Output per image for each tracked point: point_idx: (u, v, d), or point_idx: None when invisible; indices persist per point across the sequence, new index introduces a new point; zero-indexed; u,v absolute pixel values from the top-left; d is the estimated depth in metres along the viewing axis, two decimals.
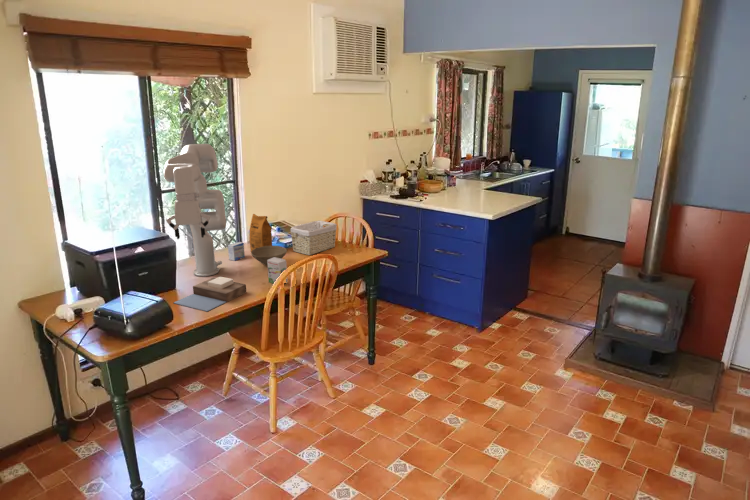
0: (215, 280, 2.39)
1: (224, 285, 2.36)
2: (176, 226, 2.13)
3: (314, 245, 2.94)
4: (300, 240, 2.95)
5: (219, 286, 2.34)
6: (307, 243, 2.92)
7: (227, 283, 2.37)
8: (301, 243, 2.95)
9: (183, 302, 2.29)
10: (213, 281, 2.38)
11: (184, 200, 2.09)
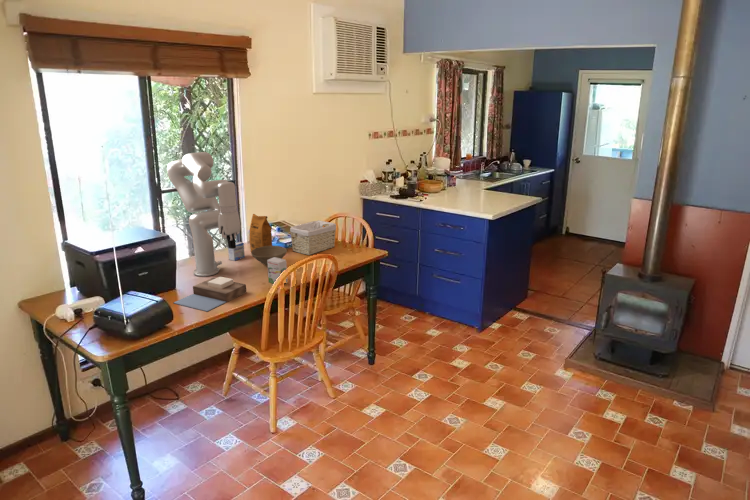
0: (215, 280, 2.39)
1: (224, 285, 2.36)
2: (231, 237, 2.39)
3: (313, 245, 2.95)
4: (299, 240, 2.95)
5: (219, 286, 2.34)
6: (306, 243, 2.92)
7: (227, 283, 2.37)
8: (300, 243, 2.95)
9: (183, 302, 2.29)
10: (213, 281, 2.38)
11: (234, 211, 2.35)
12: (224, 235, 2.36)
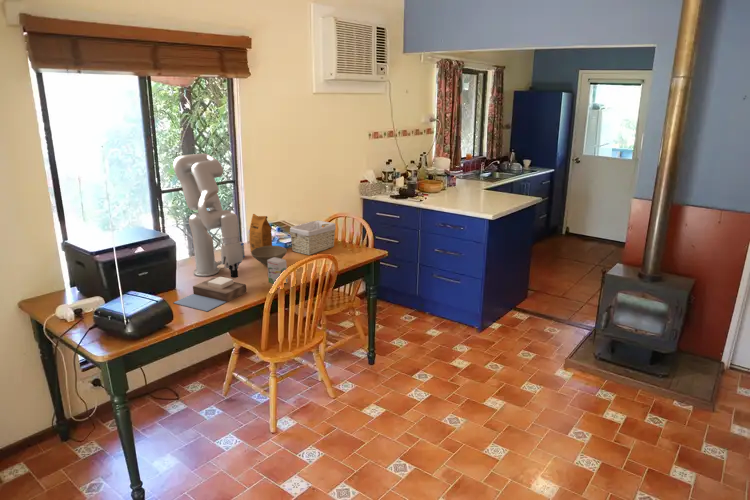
0: (215, 280, 2.39)
1: (224, 285, 2.36)
2: (233, 267, 2.43)
3: (314, 245, 2.95)
4: (299, 240, 2.95)
5: (219, 286, 2.34)
6: (307, 243, 2.92)
7: (227, 283, 2.37)
8: (301, 243, 2.95)
9: (183, 302, 2.29)
10: (213, 281, 2.38)
11: (236, 242, 2.40)
12: (227, 265, 2.40)
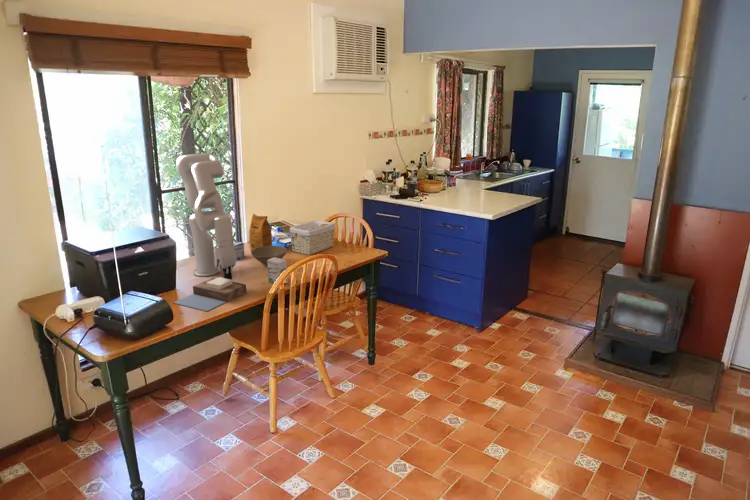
0: (214, 281, 2.38)
1: (223, 286, 2.35)
2: (227, 269, 2.40)
3: (314, 245, 2.95)
4: (300, 240, 2.95)
5: (218, 287, 2.34)
6: (307, 243, 2.92)
7: (226, 284, 2.37)
8: (301, 243, 2.95)
9: (183, 302, 2.29)
10: (212, 281, 2.37)
11: (230, 244, 2.36)
12: (220, 268, 2.37)
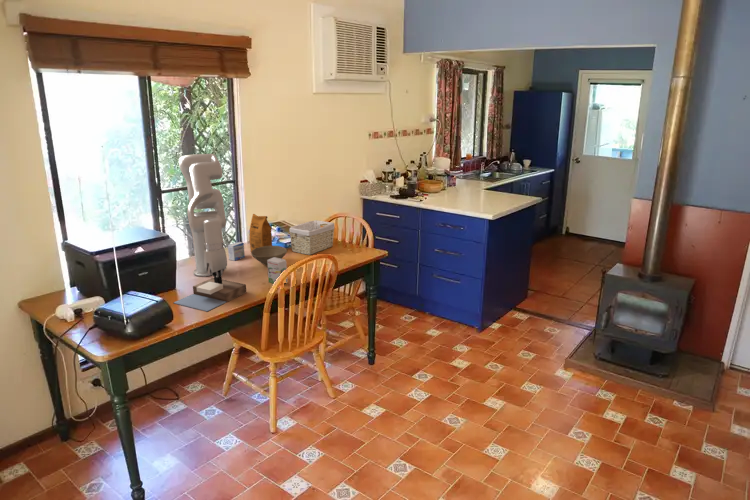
0: (204, 285, 2.33)
1: (213, 290, 2.29)
2: (217, 274, 2.34)
3: (314, 245, 2.95)
4: (300, 240, 2.95)
5: (208, 291, 2.28)
6: (307, 243, 2.93)
7: (216, 288, 2.31)
8: (301, 243, 2.95)
9: (183, 302, 2.29)
10: (202, 286, 2.32)
11: (220, 248, 2.31)
12: (210, 272, 2.32)
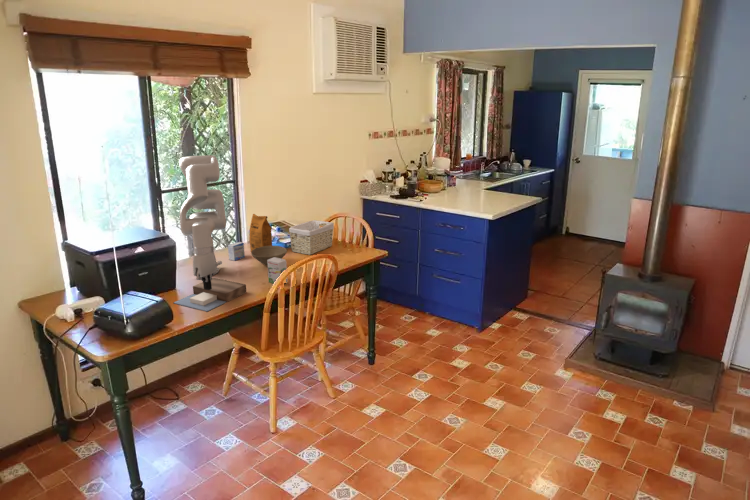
0: (198, 296, 2.30)
1: (206, 302, 2.27)
2: (206, 278, 2.29)
3: (314, 244, 2.95)
4: (300, 240, 2.95)
5: (201, 303, 2.25)
6: (307, 243, 2.93)
7: (210, 299, 2.28)
8: (301, 243, 2.95)
9: (183, 302, 2.29)
10: (196, 297, 2.29)
11: (209, 252, 2.25)
12: (199, 277, 2.26)
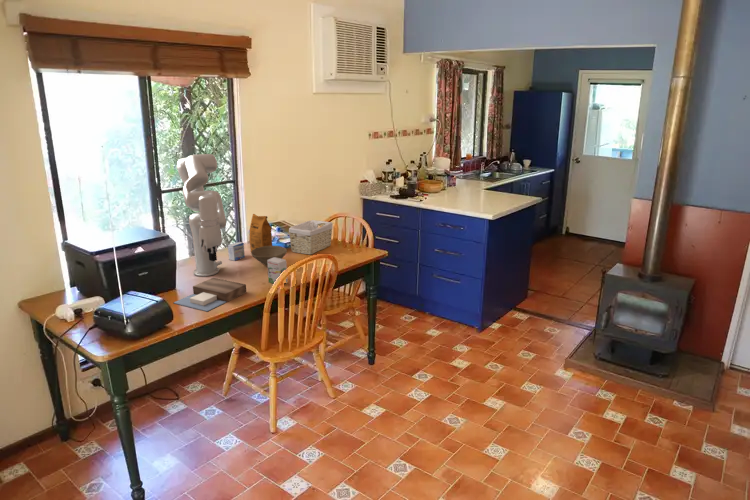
0: (198, 296, 2.30)
1: (206, 302, 2.27)
2: (212, 250, 2.36)
3: (314, 244, 2.96)
4: (300, 240, 2.95)
5: (201, 303, 2.25)
6: (308, 243, 2.93)
7: (210, 299, 2.28)
8: (301, 243, 2.95)
9: (183, 302, 2.29)
10: (196, 297, 2.29)
11: (215, 225, 2.32)
12: (205, 248, 2.33)
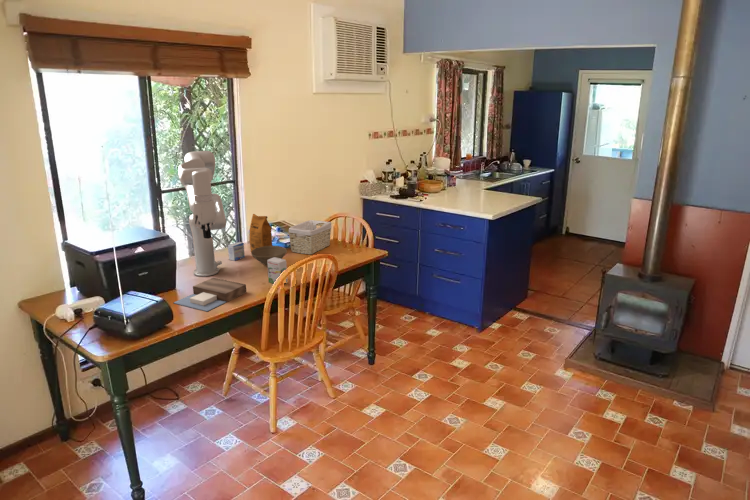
0: (198, 296, 2.30)
1: (206, 302, 2.27)
2: (206, 226, 2.34)
3: (314, 244, 2.96)
4: (300, 240, 2.95)
5: (201, 303, 2.25)
6: (308, 242, 2.93)
7: (210, 299, 2.28)
8: (301, 243, 2.95)
9: (183, 302, 2.29)
10: (196, 297, 2.29)
11: (209, 200, 2.30)
12: (199, 225, 2.31)
